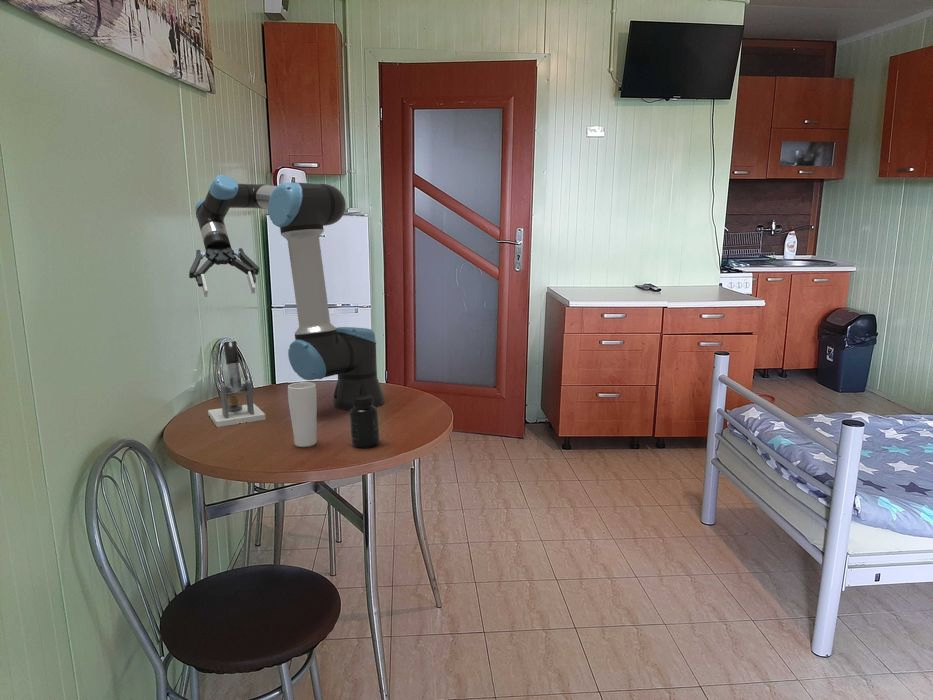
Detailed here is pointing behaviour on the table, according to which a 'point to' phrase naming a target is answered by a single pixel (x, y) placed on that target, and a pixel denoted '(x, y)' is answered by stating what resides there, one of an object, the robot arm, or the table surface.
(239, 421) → the nutcracker base
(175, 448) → the table surface
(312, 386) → the drinking glass
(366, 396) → the supplement bottle
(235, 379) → the lever
